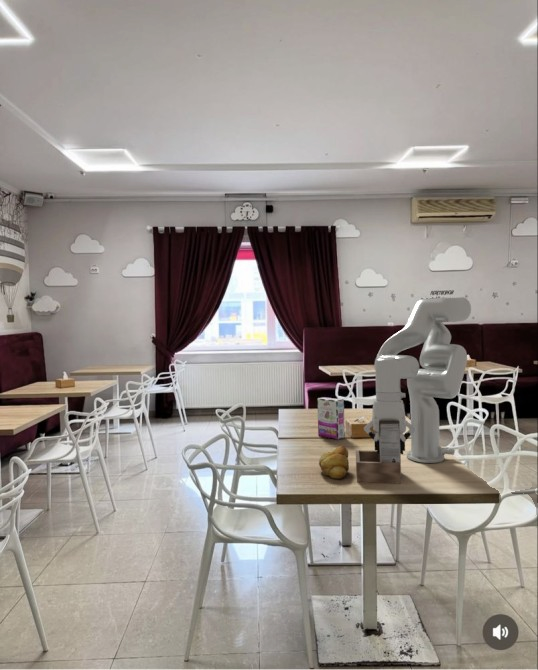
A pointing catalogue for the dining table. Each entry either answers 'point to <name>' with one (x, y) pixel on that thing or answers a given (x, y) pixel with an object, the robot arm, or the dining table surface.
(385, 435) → the coffee box
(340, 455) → the bread roll
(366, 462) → the open side box
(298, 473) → the dining table surface
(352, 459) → the dining table surface
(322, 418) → the candy bar box
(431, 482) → the dining table surface
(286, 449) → the dining table surface
